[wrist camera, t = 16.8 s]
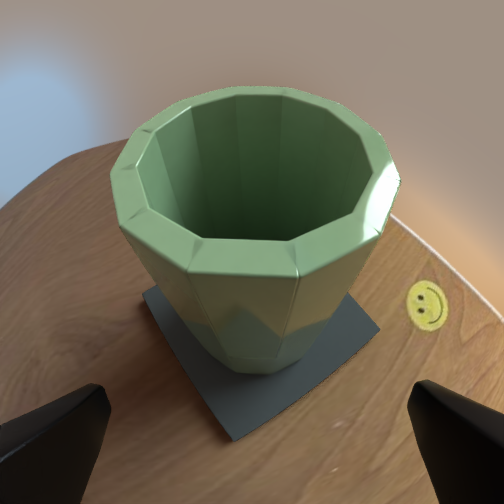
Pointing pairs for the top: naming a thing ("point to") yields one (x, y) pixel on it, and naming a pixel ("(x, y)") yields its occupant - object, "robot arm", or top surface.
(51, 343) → the top surface
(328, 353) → the mat
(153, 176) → the green faceted tube
